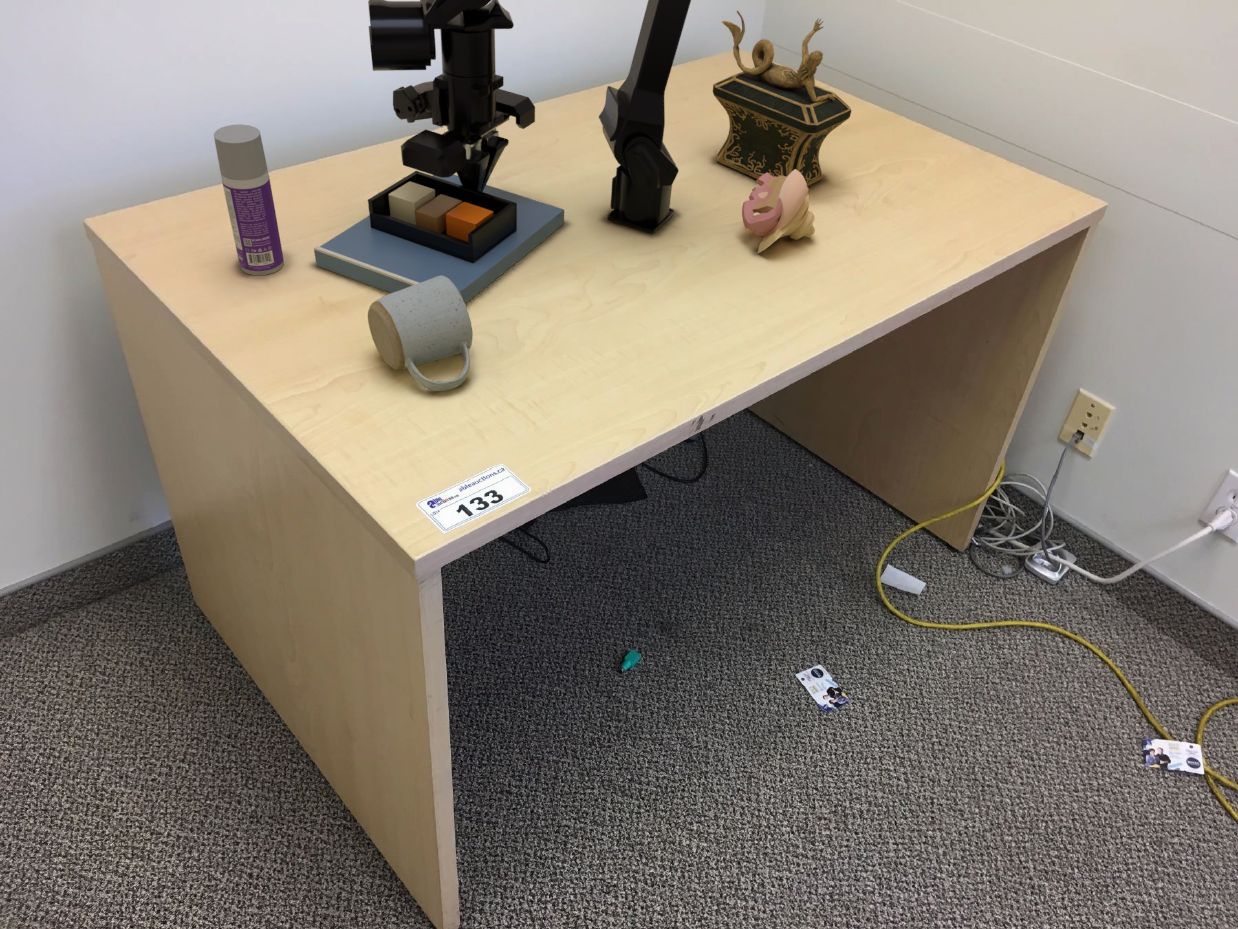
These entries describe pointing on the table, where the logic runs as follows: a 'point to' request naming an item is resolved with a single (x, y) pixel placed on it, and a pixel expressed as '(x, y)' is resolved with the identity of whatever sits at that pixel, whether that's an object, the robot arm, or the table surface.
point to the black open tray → (443, 216)
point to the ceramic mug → (422, 328)
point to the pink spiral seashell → (779, 208)
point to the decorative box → (777, 112)
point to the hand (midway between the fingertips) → (473, 200)
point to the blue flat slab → (410, 263)
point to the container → (249, 198)
